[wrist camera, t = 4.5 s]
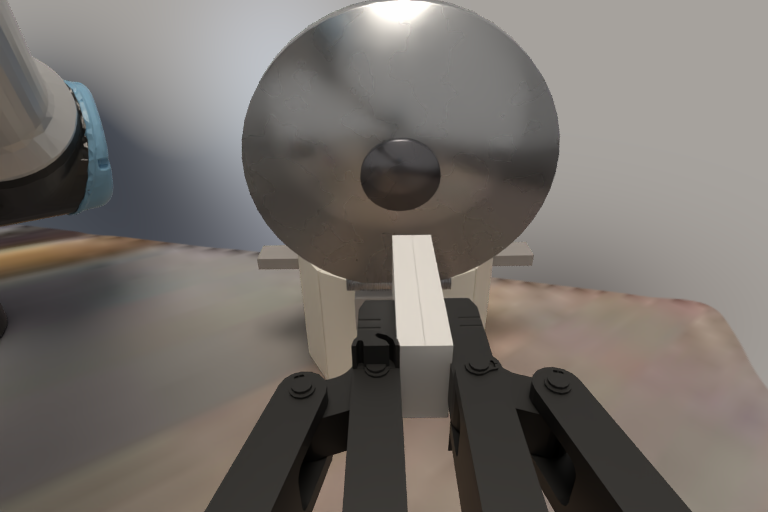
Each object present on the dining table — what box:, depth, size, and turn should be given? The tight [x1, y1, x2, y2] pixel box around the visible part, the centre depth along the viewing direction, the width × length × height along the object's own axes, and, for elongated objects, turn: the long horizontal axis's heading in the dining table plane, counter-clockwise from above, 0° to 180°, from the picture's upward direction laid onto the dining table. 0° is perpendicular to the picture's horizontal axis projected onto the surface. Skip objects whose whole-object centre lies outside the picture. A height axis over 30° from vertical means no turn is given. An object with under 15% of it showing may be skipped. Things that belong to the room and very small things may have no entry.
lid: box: [242, 0, 560, 291], centre depth 27 cm, size 18×17×2 cm
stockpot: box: [257, 242, 534, 380], centre depth 42 cm, size 17×23×11 cm
